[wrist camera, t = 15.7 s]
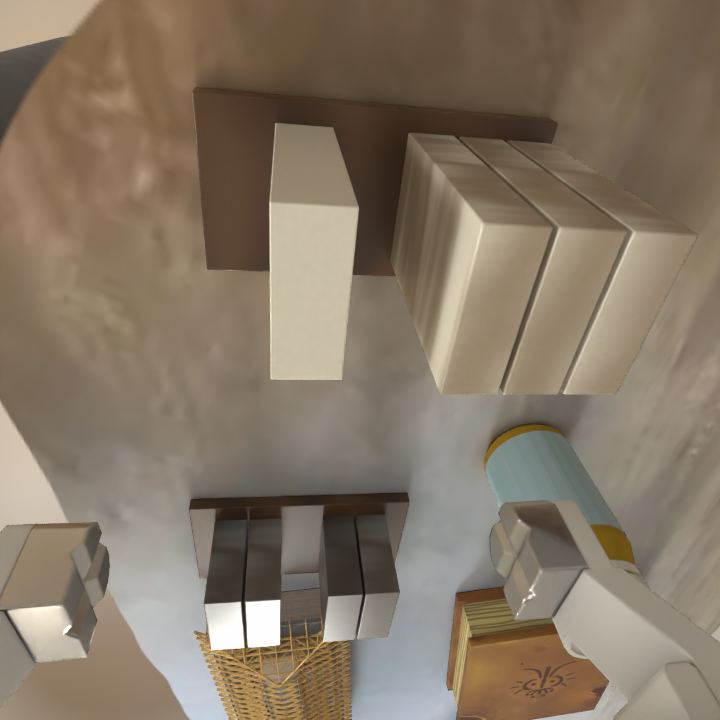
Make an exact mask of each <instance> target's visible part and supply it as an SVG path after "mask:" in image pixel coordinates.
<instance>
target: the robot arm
mask: <svg viewBox="0 0 720 720" xmlns="http://www.w3.org/2000/svg"><path fill="white" fill-rule="evenodd" d="M498 514H499V516H500V519H501V520H500V521H499V522H498V523H496V524H495V525H494V526H493V527H492V530H491V533H490V553H491V558H492V561H493V564H494V567H495V569H496V570H497V571H498V572H499V573H500V574H501V575H502V576H503V577H504V578H505V579H506V581H505V584H504V588H503V591H504V594H505V596H506V599H507V602H508V604H509V607H510V609H511V612H512V615H513V617H514V620H525V619H543V618H553V621H554V623H555V624H556V625H557V626H558V627H559V628H560V629H561V630H562V631H563V632H564V633H565V634H566V635H567V636H568V637H569V638H570V640H571V641H572V642H573V643H574V644H575V645H576V646H577V647H578V648H579V649H580V650H581V651H582V652H583V653H584V654H585V655H586V657H587V658H588V659H589V660H590V661H591V662H592V663H593V664H594V665H595V666H596V667H597V668H598V669H599V670H600V671H601V672H602V673H603V675H604V676H605V677H606V678H607V679H608V680H609V681H610V682H611V683H612V684H613V685H614V686H615V687H616V688H617V689H618V690H619V692H620V693H621V694H622V695H623V696H624V697H625V698H626V699H627V700H628V701H629V702H628V703H627V704H626V705H625V706H624V707H623V708H622V709H621V710H620V711H619V712H618V713H617V714H616V715H615V716H614V719H613V720H720V642H718V641H717V640H716V639H715V638H713V637H712V636H711V635H709V634H708V633H707V632H705V631H704V630H703V629H701V628H700V627H699V626H697V625H696V624H695V623H694V622H692V621H691V620H690V619H688V618H687V617H686V616H684V615H683V614H682V613H680V612H679V611H678V610H676V609H675V608H674V607H672V606H671V605H670V604H669V603H667V602H666V601H665V600H663V599H662V598H661V597H659V596H658V595H657V594H655V593H654V592H653V591H651V590H650V589H649V588H647V587H646V586H645V585H643V584H642V583H641V582H640V581H638V580H637V579H636V578H634V577H633V576H632V575H630V574H629V573H628V572H626V571H625V570H624V569H622V568H621V567H614V566H613V565H612V563H611V561H610V559H609V558H608V556H607V554H606V553H605V551H604V549H603V547H602V546H601V544H600V542H599V541H598V539H597V537H596V536H595V534H594V532H593V530H592V529H591V527H590V525H589V524H588V522H587V520H586V518H585V517H584V515H583V513H582V512H581V510H580V508H579V506H578V505H577V503H575V502H574V501H573V500H569V499H566V500H551V501H548V500H538V501H522V502H506V503H504V504H503V505H502V506H501V508H500V510H499V513H498ZM101 534H102V532H101V529H100V527H99V524H98V522H92V523H61V524H60V523H59V524H23V525H7V526H6V527H5V528H4V529H3V530H2V531H1V532H0V708H1V706H2V705H3V704H4V703H5V702H6V701H7V699H8V698H9V697H10V696H11V695H12V693H13V692H14V691H15V690H16V688H18V686H19V685H20V684H21V683H22V682H23V681H24V679H25V678H26V677H27V676H28V675H29V673H30V672H31V671H32V670H33V669H34V668H35V666H36V665H35V663H38V662H47V661H55V660H65V659H74V658H83V657H87V654H88V651H89V647H90V644H91V640H92V637H93V633H94V630H95V626H96V623H97V618H96V616H95V613H94V610H93V607H94V606H95V605H96V604H97V603H98V602H99V601H100V600H101V599H102V598H103V597H104V594H105V591H106V587H107V583H108V576H109V568H110V563H109V554H108V550H107V547H106V546H104V545H102V544H101V543H99V540H100V537H101Z"/></svg>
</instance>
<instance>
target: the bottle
mask: <svg viewBox="0 0 720 720" xmlns="http://www.w3.org/2000/svg"><path fill="white" fill-rule="evenodd" d="M484 470H485V472H486V476H487V478H488V480H489V483H490V485H491V488H492V490H493V493H494V495H495V498H496V500H497V503H498V505H499V507H500V508H501V506H502V505H503V504H504V503H506V502H522V501H538V500H548V501H551V500H566V499H569V500H573V501H574V502H575V503H577V505H578V506H579V508H580V510H581V512H582V513H583V515H584V517H585V518H586V520H587V522H588V524H589V525H590V527H591V529H592V530H593V532H594V534H595V536H596V537H597V539H598V541H599V542H600V544H601V546H602V547H603V549H604V551H605V553H606V554H607V556H608V558H609V559H610V561H611V563H612V565H613V566H614V567H621V568H622V569H624V570H625V571H626V572H628V573H629V574H630V575H632V576H633V577H634V578H636V579H637V580H638V581H640V582H641V583H642V584H643V585H645V586H646V587H647V588H649V589H650V587H649V586H648V584H647V583H646V582H645V581H644V579H643V577H642V575H641V574H640V572H639V570H638V569H637V568H636V566H635V562H634V557H633V552H632V548H631V544H630V542H629V540H628V539H627V537H626V535H625V533H624V531H623V530H622V528H621V526H620V525H619V523H618V522H617V520H616V518H615V517H614V515H613V513H612V512H611V510H610V509H609V507H608V505H607V504H606V502H605V500H604V499H603V497H602V496H601V494H600V492H599V491H598V489H597V487H596V486H595V484H594V483H593V481H592V479H591V478H590V476H589V474H588V473H587V471H586V470H585V468H584V466H583V465H582V463H581V462H580V460H579V458H578V457H577V455H576V453H575V452H574V450H573V449H572V447H571V445H570V444H569V442H568V440H567V439H566V438H565V436H564V435H563V434H562V433H561V432H560V431H559V430H557V429H555V428H553V427H550V426H545V425H539V424H528V425H522V426H518V427H515V428H513V429H511V430H508V431H506V432H505V433H504V434H502V435H501V436H499V437H498V438H497V439H496V440H495V441H494V442H493V443H492V444H491V446H490V448H489V450H488V451H487V454H486V456H485V458H484ZM650 590H651V589H650ZM552 620H553V618H552ZM553 622H554V621H553ZM554 624H555V623H554ZM555 627H556V629H557V631H558V634H559V636H560V639H561V641H562V643H563V646H564V648H565V649H566V650H567V652H568V653H569V654H570V655H572V656H574V657H577V658H582V659H588V658H587V657H586V655H585V654H584V653H583V652H582V651H581V650H580V649H579V648H578V647H577V646H576V645H575V644H574V643H573V642H572V641H571V640H570V638H569V637H568V636H567V635H566V634H565V633H564V632H563V631H562V630H561V629H560V628H559V627H558V626H557V625H556V624H555Z"/></svg>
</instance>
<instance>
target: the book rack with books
mask: <svg viewBox="0 0 720 720" xmlns="http://www.w3.org/2000/svg"><path fill="white" fill-rule="evenodd" d="M192 98H193V110H194V121H195V133H196V145H197V156H198V168H199V180H200V191H201V203H202V214H203V226H204V238H205V249H206V261H207V269H208V270H232V271H260V272H270V216H269V202H270V189H271V175H272V162H273V149H274V136H275V124H276V123H284V124H296V125H309V126H321V127H333V129H334V132H335V135H336V138H337V141H338V144H339V147H340V150H341V153H342V157H343V160H344V163H345V166H346V169H347V172H348V175H349V178H350V181H351V184H352V188H353V191H354V194H355V197H356V200H357V203H358V206H359V214H358V224H357V234H356V244H355V254H354V265H353V275H371V276H396V277H397V280H398V283H399V285H400V288H401V291H402V293H403V296H404V299H405V301H406V304H407V307H408V309H409V312H410V315H411V317H412V320H413V323H414V325H415V328H416V331H417V333H418V336H419V339H420V342H421V344H422V347H423V350H424V352H425V355H426V358H427V360H428V363H429V366H430V368H431V371H432V374H433V376H434V379H435V382H436V384H437V387H438V390H439V392H440V394H497V393H498V391H499V388H500V389H501V391H502V393H503V394H558V393H559V391H560V390H561V391H562V393H563V394H617V392H618V390H619V388H620V387H621V385H622V383H623V381H624V379H625V377H626V375H627V373H628V371H629V369H630V367H631V365H632V363H633V361H634V359H635V357H636V355H637V353H638V351H639V350H640V348H641V346H642V344H643V342H644V340H645V338H646V336H647V334H648V332H649V330H650V328H651V326H652V324H653V322H654V320H655V318H656V316H657V315H658V313H659V311H660V309H661V307H662V305H663V303H664V301H665V299H666V297H667V295H668V293H669V291H670V289H671V287H672V285H673V283H674V281H675V279H676V278H677V276H678V274H679V272H680V270H681V268H682V266H683V264H684V262H685V260H686V258H687V256H688V254H689V252H690V250H691V248H692V246H693V244H694V242H695V241H696V239H697V237H698V235H697V234H696V233H695V232H693V231H691V230H690V229H688V228H687V227H685V226H683V225H682V224H680V223H678V222H677V221H675V220H673V219H672V218H670V217H669V216H667V215H665V214H664V213H662V212H660V211H659V210H657V209H656V208H654V207H652V206H651V205H649V204H647V203H646V202H644V201H642V200H641V199H639V198H638V197H636V196H634V195H633V194H631V193H629V192H628V191H626V190H625V189H623V188H621V187H620V186H618V185H616V184H615V183H613V182H611V181H610V180H608V179H607V178H605V177H603V176H602V175H600V174H598V173H597V172H595V171H594V170H592V169H590V168H589V167H587V166H585V165H584V164H582V163H580V162H579V161H577V160H576V159H574V158H572V157H571V156H569V155H567V154H566V153H564V152H563V151H561V150H559V149H558V148H556V147H554V146H553V145H551V144H552V141H553V137H554V134H555V131H556V127H557V124H558V123H557V122H555V121H553V120H551V119H548V118H537V117H526V116H514V115H503V114H492V113H480V112H469V111H457V110H446V109H435V108H423V107H412V106H401V105H389V104H378V103H367V102H355V101H344V100H332V99H321V98H310V97H298V96H287V95H276V94H264V93H253V92H242V91H230V90H219V89H207V88H194V90H193V91H192Z"/></svg>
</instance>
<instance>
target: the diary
mask: <svg viewBox="0 0 720 720" xmlns="http://www.w3.org/2000/svg"><path fill="white" fill-rule="evenodd" d="M503 588H504V587H498V588H491V589H485V590H478V591H471V592H464V593H457V594H456V598H455V607H454V616H453V626H452V635H451V644H450V654H449V663H448V673H447V682H446V684H447V688H448V691H449V690H453V692H454V696H455V700H456V704H457V709H458V710H457V717H456V720H532V719H539V718H545V717H551V716H557V715H564V714H570V713H576V712H582V711H589V710H594V709H595V707H596V705H597V703H598V701H599V700H600V698H601V696H602V694H603V692H604V691H605V689H606V687H607V685H608V683H609V682H610V681H609V680H608V679H607V678H606V677H605V676H604V675H603V673H602V672H601V671H600V670H599V669H598V668H597V667H596V666H595V665H594V664H593V663H592V662H591V661H590V660H589V659H582V658H577V657H574V656H572V655H570V654H569V653H568V652H567V650H566V649H565V648H564V646H563V643H562V641H561V639H560V636H559V634H558V631H557V629H556V627H555V624H554V622H553V620H552V618H543V619H525V620H514V617H513V615H512V612H511V609H510V607H509V604H508V602H507V599H506V596H505V594H504V591H503Z"/></svg>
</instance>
